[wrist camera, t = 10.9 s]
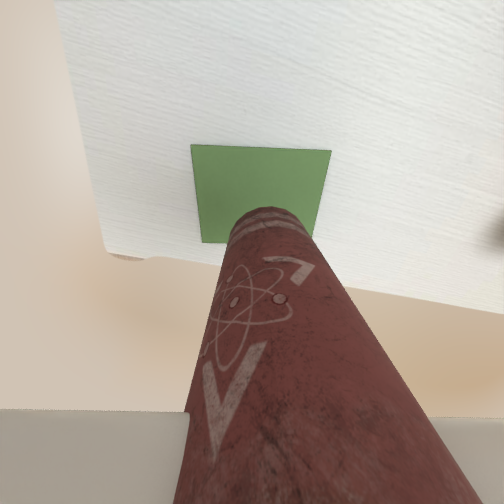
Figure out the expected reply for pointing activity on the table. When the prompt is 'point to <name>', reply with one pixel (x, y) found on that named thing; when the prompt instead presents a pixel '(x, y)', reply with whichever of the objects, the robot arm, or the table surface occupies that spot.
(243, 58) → the table surface
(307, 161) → the felt cloth
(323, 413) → the can
